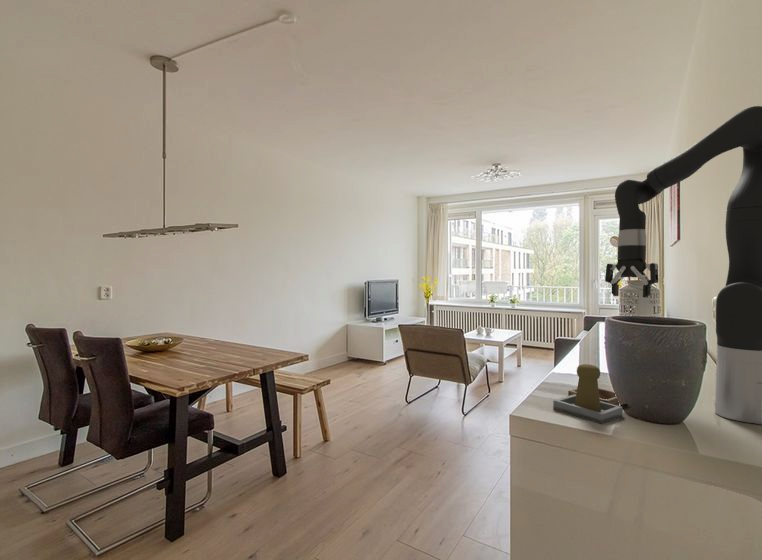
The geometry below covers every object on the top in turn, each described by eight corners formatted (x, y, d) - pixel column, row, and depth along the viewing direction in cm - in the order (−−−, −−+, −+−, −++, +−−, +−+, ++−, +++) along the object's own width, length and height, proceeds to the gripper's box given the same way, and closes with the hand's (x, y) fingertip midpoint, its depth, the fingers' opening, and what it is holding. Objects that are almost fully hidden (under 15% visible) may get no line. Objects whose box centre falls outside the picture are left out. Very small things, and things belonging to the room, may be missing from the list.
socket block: (626, 404, 106) (626, 394, 106) (607, 410, 100) (608, 401, 100) (587, 394, 115) (588, 385, 115) (568, 399, 109) (568, 390, 109)
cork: (606, 413, 95) (607, 368, 95) (580, 412, 96) (582, 367, 95) (593, 405, 101) (594, 362, 101) (569, 404, 102) (570, 362, 102)
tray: (622, 416, 96) (622, 407, 96) (601, 423, 91) (602, 414, 91) (574, 402, 106) (574, 394, 106) (553, 408, 101) (553, 400, 101)
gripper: (663, 244, 120) (661, 298, 120) (613, 246, 132) (612, 295, 132) (652, 242, 116) (650, 298, 116) (602, 245, 127) (600, 295, 128)
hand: (630, 296), depth 124 cm, fingers open, 8 cm apart
